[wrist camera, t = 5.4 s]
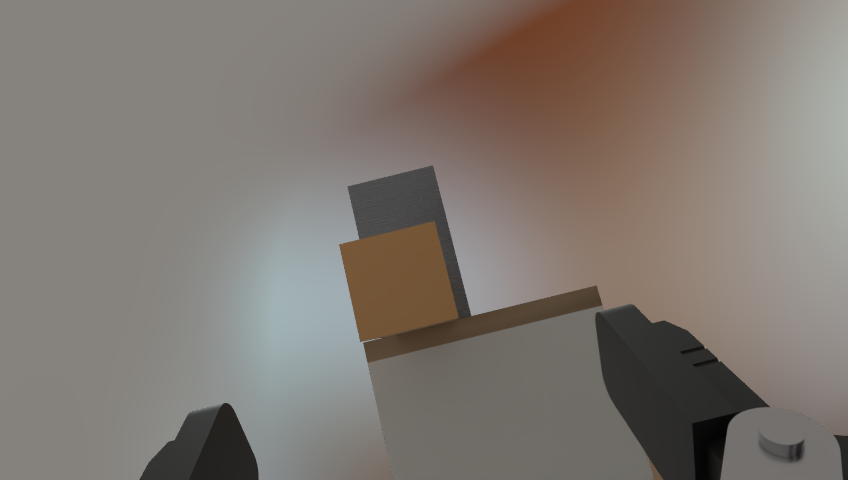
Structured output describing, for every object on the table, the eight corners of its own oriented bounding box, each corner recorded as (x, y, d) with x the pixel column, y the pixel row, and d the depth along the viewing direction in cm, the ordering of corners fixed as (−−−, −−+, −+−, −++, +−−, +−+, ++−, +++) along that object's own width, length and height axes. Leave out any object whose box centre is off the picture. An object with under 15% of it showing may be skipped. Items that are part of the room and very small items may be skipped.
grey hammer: (488, 310, 13) (421, 54, 14) (330, 348, 13) (277, 90, 14) (467, 317, 28) (435, 192, 29) (393, 335, 28) (364, 210, 29)
